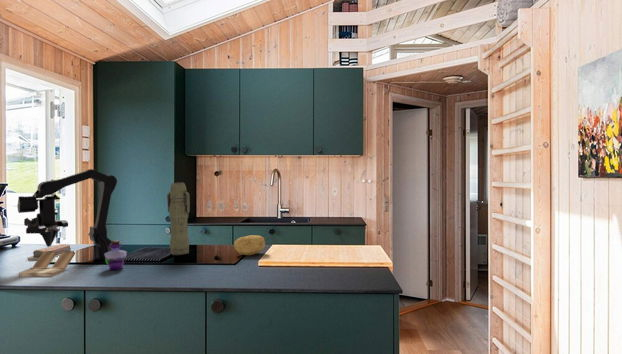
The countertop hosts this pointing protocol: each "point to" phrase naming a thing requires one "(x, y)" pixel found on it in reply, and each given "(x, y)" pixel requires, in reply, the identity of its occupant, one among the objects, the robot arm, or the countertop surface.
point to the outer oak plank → (45, 259)
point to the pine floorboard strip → (41, 272)
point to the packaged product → (57, 248)
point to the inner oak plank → (64, 259)
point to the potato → (249, 244)
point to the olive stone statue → (179, 218)
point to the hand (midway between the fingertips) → (48, 246)
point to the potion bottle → (115, 256)
